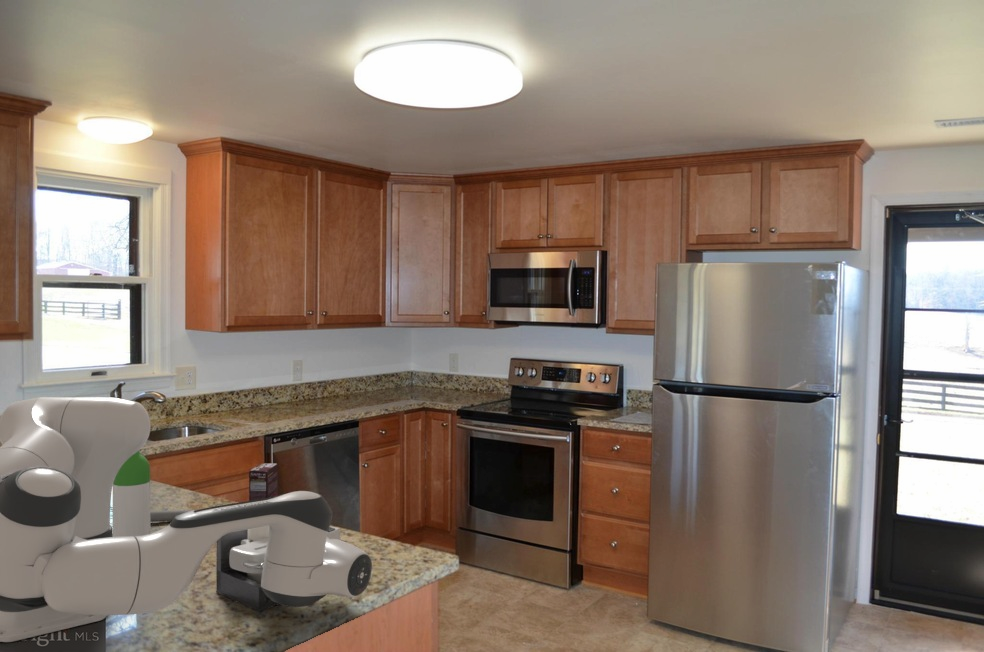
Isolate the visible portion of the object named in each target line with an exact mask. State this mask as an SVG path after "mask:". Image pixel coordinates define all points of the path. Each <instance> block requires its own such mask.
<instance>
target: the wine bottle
mask: <svg viewBox="0 0 984 652" xmlns="http://www.w3.org/2000/svg"><path fill="white" fill-rule="evenodd" d="M112 507H113V508H112V509H113V510H112V511H113V512H112V518H113V519H112V526H113V527H112V533H113V537H121V536H143V535H147V534H151V533H152V532H151V522H150V511H151V465H150V463H149V460H148V459H147V458H146V457H145V455H143V454H142V453H140V450H139V451H138V452H136V453H135V454H133V455H132V456H131V457H130V458H129V459H128V460H127V461H126V462H125V463H124V464H123V465H122V467H121V468H120V470H119V471H118V473H117V475H116V477H115V480H114V482H113V486H112Z"/></svg>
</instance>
